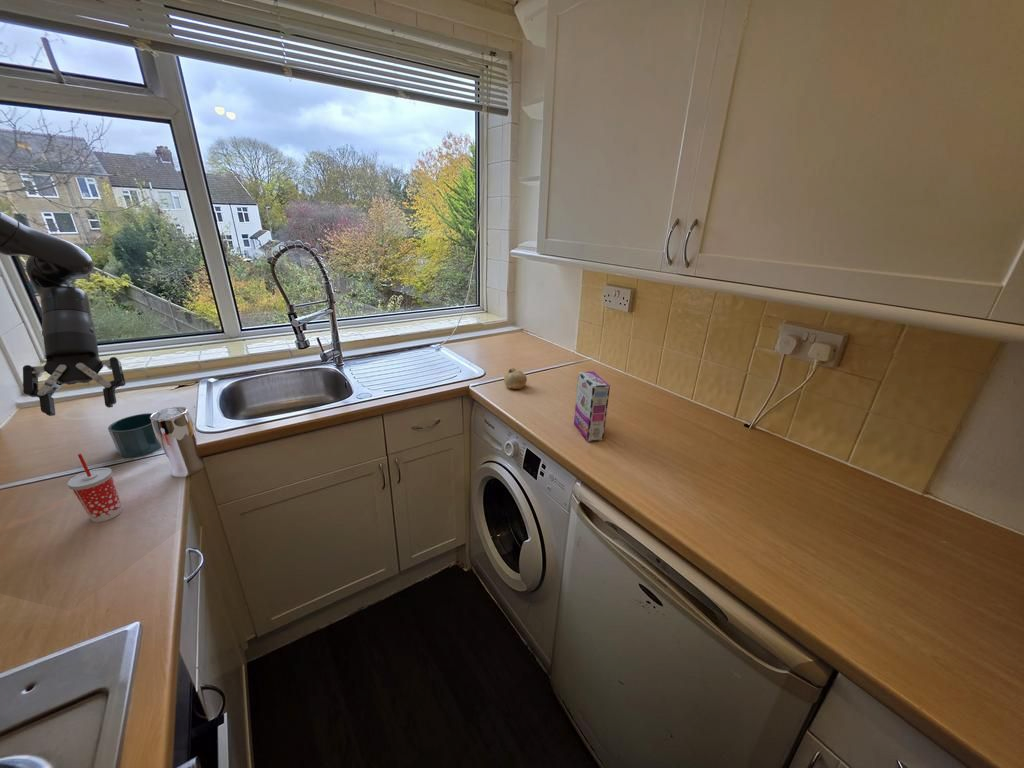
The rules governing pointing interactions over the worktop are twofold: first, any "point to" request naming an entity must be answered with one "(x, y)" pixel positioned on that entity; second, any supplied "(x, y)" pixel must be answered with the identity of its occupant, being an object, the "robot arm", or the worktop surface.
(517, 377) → the onion
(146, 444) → the teal round pot
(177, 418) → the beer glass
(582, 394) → the candy bar box
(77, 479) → the beverage cup
